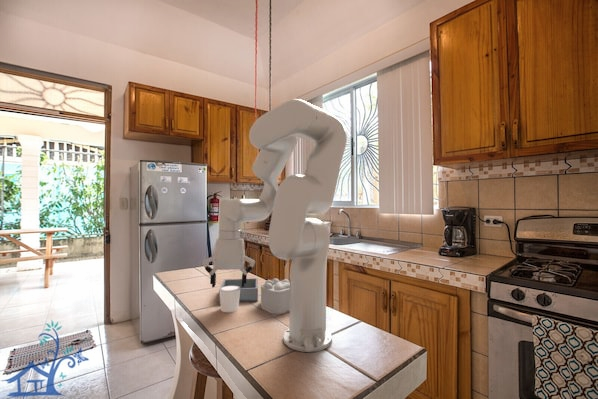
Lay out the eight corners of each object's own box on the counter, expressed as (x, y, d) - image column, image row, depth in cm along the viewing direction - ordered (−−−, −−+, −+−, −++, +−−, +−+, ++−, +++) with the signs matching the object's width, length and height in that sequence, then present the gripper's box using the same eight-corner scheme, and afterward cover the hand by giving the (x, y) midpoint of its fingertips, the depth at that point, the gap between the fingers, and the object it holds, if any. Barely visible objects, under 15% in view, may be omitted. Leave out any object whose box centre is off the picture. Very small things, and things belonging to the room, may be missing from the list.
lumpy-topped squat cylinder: (275, 315, 85) (275, 288, 86) (253, 304, 95) (253, 279, 95) (300, 307, 92) (300, 282, 92) (277, 297, 102) (277, 274, 102)
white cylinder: (242, 305, 94) (243, 285, 94) (236, 313, 87) (236, 291, 87) (223, 304, 94) (223, 284, 94) (215, 312, 87) (216, 290, 88)
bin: (257, 301, 98) (257, 288, 98) (219, 302, 96) (219, 289, 96) (257, 289, 111) (257, 278, 112) (223, 290, 109) (223, 279, 109)
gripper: (256, 234, 96) (254, 282, 96) (205, 233, 93) (204, 282, 93) (256, 237, 89) (254, 289, 89) (201, 236, 86) (199, 290, 86)
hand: (228, 285), depth 91 cm, fingers open, 9 cm apart
